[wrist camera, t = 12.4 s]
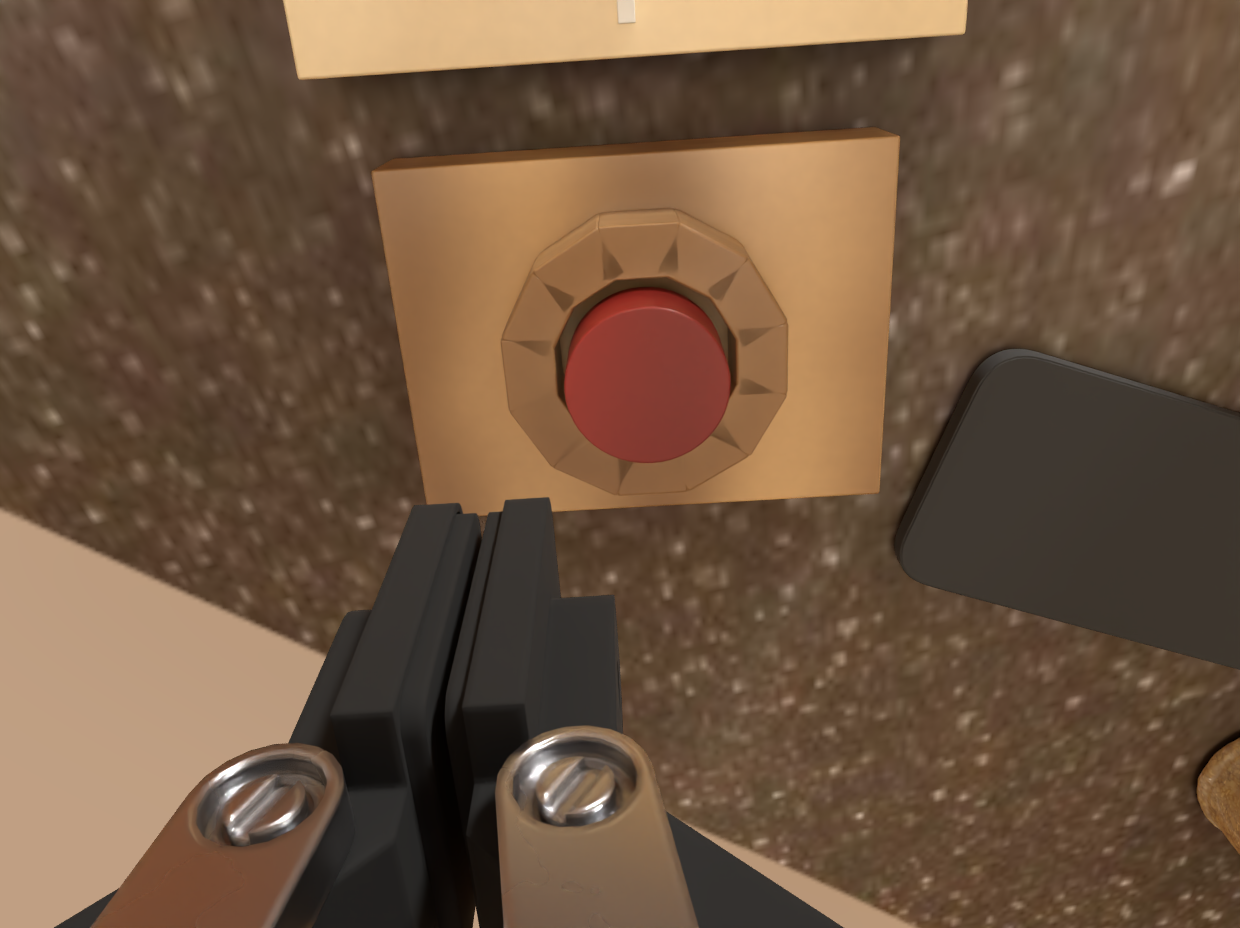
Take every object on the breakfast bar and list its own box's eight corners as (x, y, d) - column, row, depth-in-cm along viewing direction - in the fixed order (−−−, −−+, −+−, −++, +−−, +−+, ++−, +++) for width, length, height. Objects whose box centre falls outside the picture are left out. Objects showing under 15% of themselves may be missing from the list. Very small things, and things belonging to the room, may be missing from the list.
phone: (999, 342, 24) (1493, 491, 26) (988, 333, 25) (1468, 479, 27) (885, 576, 27) (1335, 697, 29) (878, 562, 28) (1317, 680, 30)
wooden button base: (442, 483, 27) (415, 553, 23) (391, 158, 23) (349, 181, 20) (860, 459, 27) (898, 527, 23) (876, 126, 23) (924, 143, 19)
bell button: (574, 437, 23) (571, 468, 21) (561, 290, 21) (556, 312, 19) (724, 429, 22) (732, 459, 21) (721, 281, 21) (729, 301, 19)
